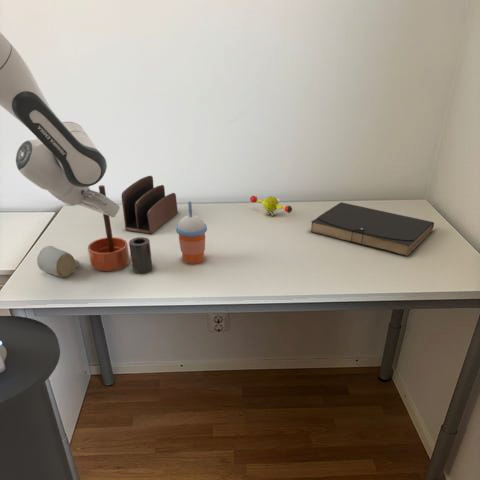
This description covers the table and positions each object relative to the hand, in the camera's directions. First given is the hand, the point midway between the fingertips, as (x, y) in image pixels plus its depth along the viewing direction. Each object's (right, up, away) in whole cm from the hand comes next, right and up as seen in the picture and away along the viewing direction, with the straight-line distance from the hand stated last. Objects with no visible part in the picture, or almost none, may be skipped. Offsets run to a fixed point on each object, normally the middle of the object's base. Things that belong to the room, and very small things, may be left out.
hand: (107, 212), depth 146 cm
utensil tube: (+9, -16, +3) cm, 19 cm away
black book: (+81, -1, +24) cm, 85 cm away
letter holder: (+7, +4, +33) cm, 34 cm away
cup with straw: (+24, -13, +9) cm, 28 cm away
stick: (0, -12, +7) cm, 14 cm away
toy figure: (+49, +7, +37) cm, 62 cm away
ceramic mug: (-14, -17, +3) cm, 22 cm away
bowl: (-1, -14, +7) cm, 15 cm away
